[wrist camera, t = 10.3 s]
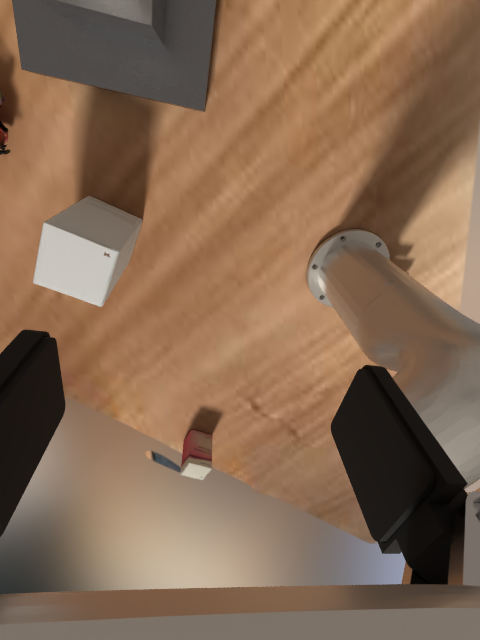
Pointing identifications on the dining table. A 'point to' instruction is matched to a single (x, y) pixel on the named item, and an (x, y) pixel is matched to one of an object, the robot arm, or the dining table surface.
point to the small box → (197, 455)
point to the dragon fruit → (3, 131)
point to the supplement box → (86, 250)
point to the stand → (121, 45)
